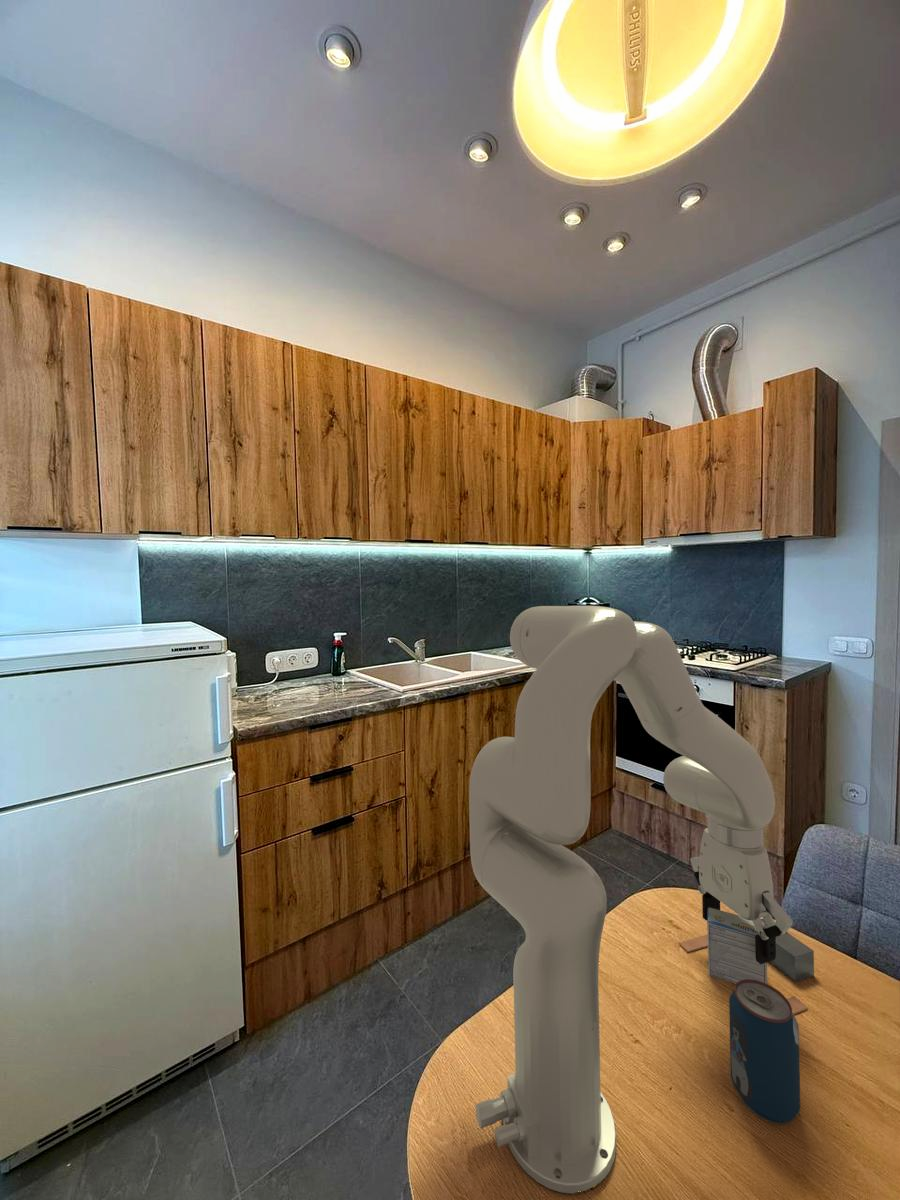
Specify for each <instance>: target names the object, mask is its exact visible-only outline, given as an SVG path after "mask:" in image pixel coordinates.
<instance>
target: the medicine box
mask: <svg viewBox="0 0 900 1200" xmlns="http://www.w3.org/2000/svg"><path fill="white" fill-rule="evenodd" d="M706 922H707V923H706V925H707V926H706V927H707V935H708V947H707V956H708V957H707V958H708V959H707V960H708V961H707V964H708V967H707V968H708V970H707V971H708V972H707V973H708V976H711V977H713V978H716V979H720V980H723V981H726V982H729V983H733V984H735V985H736V983H737V982H739V981H741V980H745V979H751V980H757V981H760V982H763V983H766V984H768V962H767V963H764V964H759V963H758V962H757V961H756V956H755V936H756V935H757V934H759V933H758V931H757V929H756V927H755V926H754V924H753V922H752V920H751V921H750V920H747V919H745V918H743V917H741V916H740V915H738V914H737V913H732V912H728V911H724V910H722V909H720V910H717V909H713V908H708V916H707V921H706ZM762 923H763V922H762ZM763 925H764V923H763Z"/></svg>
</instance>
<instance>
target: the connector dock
mask: <svg viewBox="0 0 900 1200" xmlns="http://www.w3.org/2000/svg"><path fill="white" fill-rule="evenodd" d="M760 919H761V921H762V922H763V923H764V927H765V929H766V928H768V926H767V924H766V922H765V920H764V918H763V917H762V918H760ZM678 945H679V946H680V947H681V948H682V949H683V950H684V951H685V952H687V953H688V954H689V953H692V952H695V951H699V950H702V949H706V948H708V934H705V935H701V936H697V937H694V938H691V939H687V940H684V941H680V942H678ZM814 951H815V950H814V949H812V948H811V947H809V946H808V945H806V944H805V943H803V942H802V941H801V940H800V939H798V938H796V937H795V936H793V935H792V934H790V933H789V932H787V933H786V934H783V935H780V936H777V937H776V958H775V960H773V961H770V962H769V963H770V964H771V965H773V966H774V967H775V968H776V969H778V971H780V972H781V973H783V974H784V975H785V976H786V977H788V978H789V979H790V980H791V981H793V982H794V983H799V982H801V981H804V980H806V979H809V978H812V977H815V959H814V958H815V957H814V955H815V952H814ZM786 999H787V1000H788V1001H789V1003H790V1005H791V1008H792V1013H793V1014H794V1016H795V1015H797V1014H799V1013H802V1012H805V1011H808V1010H809V1007H808V1006H807V1005H805V1004H804V1003H803V1002H801V1000H799V998H797V997H796V996H794V995H793V996H791V997H788V998H786Z"/></svg>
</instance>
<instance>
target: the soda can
mask: <svg viewBox="0 0 900 1200" xmlns="http://www.w3.org/2000/svg"><path fill="white" fill-rule="evenodd" d="M787 999H788V998H787V997H786V996H785V995H784V994H783V993H782V992H780V991H779V990H778V989H776V988H775V987H773V986H772V985H770V984H768V983H767V984H766V983H763V982H760V981H757V980H751V979H745V980H741V981H739V982H737V983H736V984H735V985H734V990H733V991H732V993H731V994H730V996H729V1000H728V1001H729V1002H728V1003H729V1004H728V1005H729V1006H728V1008H729V1009H728V1010H729V1011H728V1012H729V1014H728V1015H729V1058H730V1060H729V1061H730V1063H729V1064H730V1065H729V1067H730V1071H729V1072H730V1077H731V1082H732V1084H733V1087H734V1088H735V1090H736V1092H737V1094H738V1096H739V1097H740V1099H741V1100H742V1101H743V1103H744V1104H745V1106H747V1108H748V1109H749V1110H750V1111H751V1112H752V1113H754V1115H757V1117H759V1118H760V1119H762V1120H763V1121H766V1122H767V1123H771V1124H775V1125H784V1124H788V1123H790V1122H791V1121H793V1120H794V1119H795V1118H796V1117H797V1116H798V1115H799V1113H800V1110H801V1076H800V1075H801V1074H800V1073H801V1072H800V1071H801V1070H800V1065H801V1064H800V1030H799V1029H800V1027H799V1023H798V1021H797V1018H796V1016H795V1015H794V1014H793V1013H792V1008H791V1005H790V1003H789V1001H788V1000H787Z"/></svg>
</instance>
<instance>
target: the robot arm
mask: <svg viewBox="0 0 900 1200" xmlns="http://www.w3.org/2000/svg"><path fill="white" fill-rule="evenodd" d="M509 642H510V643H509V644H510V646H511V650H512V652H513V653H514V655H515V657H516V658H517V659H518V660H519V662H521V663H522V664H523V665H525V666H527V667H528V668H532V669H535V671H534V672H533V673H532V675H531V676H530V678H529V679H528V680H527V681H526V683H525V684H524V686H523V688H522V691H521V692H520V694H519V697H518V699H517V702H516V703H517V704H516V709H515V719H514V720H515V721H514V737H513V736H499V737H496V738H494V739H491V740H489V741H488V742H487V743H486V744H484V746H483V747H482V748H481V749H480V750H479V752H478V754H477V756H476V757H475V759H474V762H473V765H472V767H471V772H470V777H469V785H468V786H469V789H468V790H469V793H468V797H469V799H468V801H469V808H468V809H469V849H470V850H469V852H470V863H471V868H472V871H473V874H474V877H475V879H476V880H477V882H478V883H479V885H480V886H481V888H483V890H484V891H485V892H487V894H488V895H490V897H492V898H493V899H494V900H495V901H497V903H498V904H500V906H502V907H503V909H505V910H506V911H507V912H508V913H509V914H510V916H512V917H513V918H515V920H516V921H517V922H518V923H519V924H520V925H521V926H522V929H523V930H524V933H525V940H524V942H522V944H521V945H520V946H519V948H518V949H517V950H516V954H515V957H514V961H513V970H512V971H513V972H512V976H513V977H512V978H513V981H512V983H513V1015H514V1016H513V1017H514V1023H513V1024H514V1064H515V1066H514V1067H515V1068H514V1069H515V1070H514V1072H515V1073H512V1074H510V1075H507V1076H506V1077H507V1078H506V1079H507V1087H506V1089H504V1090H501V1091H500V1093H499V1095H500V1096H498V1097H495V1098H492V1099H491V1098H489V1099H485V1100H484V1101H483V1100H482V1101H480V1102H478V1103H475V1117H476V1120H477V1124H478V1127H479V1129H480V1130H481V1129H484V1128H486V1127H489V1126H492V1125H494V1124H496V1122H499V1121H502V1122H503V1124H502V1125H500V1126H497V1127H494V1137H495V1141H496V1145H497V1147H498V1148H500V1147H502V1146H504V1145H505V1146H506V1145H508V1147H509V1148H510V1149H509V1150H510V1151H511V1153H512V1155H513V1156H514V1158H515V1160H516V1162H517V1163H518V1164H519V1166H520V1167H521V1168H522V1170H523V1171H524V1172H525V1173H526V1174H528V1175H529V1176H530V1177H531V1178H532V1179H533V1180H534V1181H535V1182H537V1183H539V1184H540V1185H542V1186H544V1187H545V1188H547V1189H550V1190H551V1191H556V1192H559V1193H563V1194H565V1193H566V1194H576V1193H575V1192H578V1191H579V1192H580V1191H585V1190H587V1189H590V1188H592V1187H593V1186H595V1185H597V1184H598V1183H599V1184H600V1183H602V1182H603V1181H604V1180H603V1178H604V1179H606V1177H608V1176H607V1175H608V1174H609V1173H610V1172H611V1169H612V1167H613V1164H614V1162H615V1158H616V1152H617V1130H616V1122H615V1120H614V1119H615V1118H614V1115H613V1110H612V1109H611V1107H610V1105H609V1102H608V1101H607V1099H606V1096H604V1094H603V1092H602V1089H601V1050H600V1048H601V1043H600V999H599V998H600V996H599V994H600V993H599V992H600V991H599V963H600V949H601V941H602V935H603V929H604V925H605V919H606V914H607V906H608V905H607V903H608V902H607V901H608V900H607V892H606V888H605V885H604V884H603V881H602V879H601V877H600V876H599V874H598V873H597V872H596V870H595V869H594V868H593V867H592V866H591V865H590V863H588V862H587V861H586V860H585V859H584V858H582V857H581V856H580V855H578V854H577V853H576V852H574V851H572V850H571V849H569V848H567V847H566V846H567V845H572V844H574V843H576V842H577V841H579V840H581V838H582V837H583V836H584V834H585V833H586V831H587V828H588V827H589V826H588V825H589V823H590V819H591V816H590V815H591V805H592V804H591V803H592V802H591V799H592V797H591V795H592V794H591V793H592V791H591V790H592V789H591V786H592V785H591V780H592V779H591V777H592V775H591V729H592V720H593V714H594V712H595V708H596V706H597V704H598V702H599V700H600V698H601V697H602V695H603V694H604V693H605V691H606V690H607V688H608V687H609V686H610V685H611V684H612V682H613V681H616V682H617V683H618V684H619V685H621V687H622V689H623V691H624V693H625V694H626V696H627V698H628V699H629V702H630V703H631V705H632V707H633V710H635V713H636V715H637V717H638V720H639V721H640V724H641V726H642V727H643V729H644V730H645V731H646V732H647V733H648V734H649V735H650V736H651V737H652V738H653V739H655V740H656V741H658V742H660V744H662V745H664V746H665V747H667V748H668V749H671V750H672V751H673V752H675V753H677V754H680V755H681V756H679V757H677V758H674V759H673V760H672V761H670V762H669V764H668V765H667V766H666V767H665V769H664V773H663V777H662V780H663V786H664V788H665V792H667V794H668V795H669V796H670V797H671V798H672V799H673V800H674V801H676V802H677V803H679V804H681V805H683V806H686V807H689V808H691V809H694V810H696V811H699V812H701V813H704V816H705V817H706V818H707V827H705V828H704V829H703V833H702V836H701V837H702V838H701V842H700V849H699V856H694V857H691V858H690V860H689V861H690V864H691V868H692V870H693V871H694V872H693V875H694V879H695V880H696V882H697V884H698V885H699V886H698V891H699V893H700V894H701V899H702V900H701V901H702V903H701V904H702V907H701V908H702V909H701V910H702V918H703V920H705V921H706V922H707V916H708V908H713V909H717V910H721V904H723V905H725V906H726V907H727V908H728V909H730V910H731V911H733V912H734V913H735V914H736V915H740V916H741V917H743V918H745V919H747V920H750V921H751V920H752V922H753V924H754V926H755V927H756V929H757V931H758V933H759V934H757V935H756V936H755V956H756V961H757V962H758V963H759V964H764V963H767V964H768V963H770V961H773V960H775V958H776V937H777V936H780V935H783V934H786V933H788V931H790V929H791V928H792V927H793V924H794V921H793V919H792V917H790V916H789V914H787V912H786V911H785V910H784V908H783V907H781V905H780V904H779V903H778V901H776V899H775V896H774V885H773V876H772V870H771V869H772V868H771V863H770V859H769V856H768V855H769V854H768V850H767V849H766V847H764V828H765V827H766V826H767V825H768V824H770V822H771V821H772V819H773V817H774V814H775V809H776V796H775V792H774V787H773V784H772V781H771V779H770V776H769V774H768V771H767V768H766V765H765V764H764V762H763V760H762V758H761V756H760V755H759V753H758V752H757V750H756V749H755V748H754V746H752V745H751V744H750V742H748V740H746V739H745V738H744V737H743V736H742V735H741V734H740V733H738V732H737V731H736V730H735V729H734V728H732V726H730V725H729V724H728V723H726V722H725V721H724V720H723V719H722V718H721V717H720V716H718V715H716V714H715V713H714V712H713V711H711V710H710V709H709V708H707V707H706V706H704V704H703V702H702V700H701V698H700V695H699V694H698V692H697V691H698V690H697V689H696V687H695V686H694V683H693V679H692V678H691V676H690V674H689V672H688V669H687V667H686V665H685V663H684V661H683V658H682V657H681V654H680V652H679V650H678V647H677V646H676V643H675V642H674V639H673V638H672V636H671V634H670V633H669V632H668V631H667V630H666V629H665V628H663V627H661V626H659V625H658V624H654V623H651V622H645V621H634V619H632V617H631V616H629V614H627V613H625V612H624V611H622V610H620V609H616V608H612V607H609V606H602V605H601V606H600V605H567V606H566V605H540V606H539V605H538V606H533V607H529V608H527V609H525V610H523V611H522V612H520V613H519V615H518V616H516V618H515V619H514V621H513V623H512V626H511V627H510V632H509ZM773 917H774V918H773ZM763 918H764V920H765V922H766V924H767V926H768V928H766V929H765V927H764V925H763V923H762V921H761V919H763ZM774 919H775V920H774ZM602 1180H603V1181H602ZM601 1181H602V1182H601ZM599 1184H598V1185H599ZM598 1185H597V1186H598ZM592 1189H593V1188H592ZM590 1190H591V1189H590ZM587 1191H588V1190H587ZM585 1192H586V1191H585ZM580 1193H581V1192H580Z"/></svg>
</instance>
